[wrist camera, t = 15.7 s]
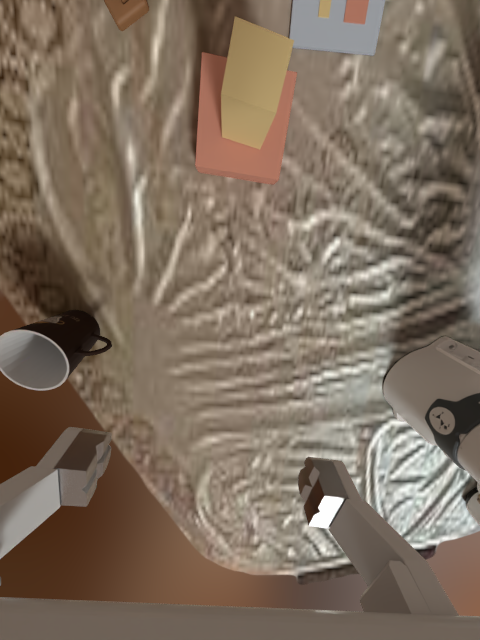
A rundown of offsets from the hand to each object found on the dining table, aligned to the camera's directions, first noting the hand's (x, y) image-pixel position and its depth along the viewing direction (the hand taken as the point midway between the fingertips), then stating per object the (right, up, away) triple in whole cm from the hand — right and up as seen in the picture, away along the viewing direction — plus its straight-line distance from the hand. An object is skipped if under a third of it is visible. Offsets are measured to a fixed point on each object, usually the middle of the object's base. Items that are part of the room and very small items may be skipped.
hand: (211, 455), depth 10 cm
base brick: (+1, +29, +20) cm, 36 cm away
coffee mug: (-23, +4, +29) cm, 37 cm away
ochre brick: (+2, +28, +16) cm, 32 cm away
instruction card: (+12, +40, +16) cm, 44 cm away
